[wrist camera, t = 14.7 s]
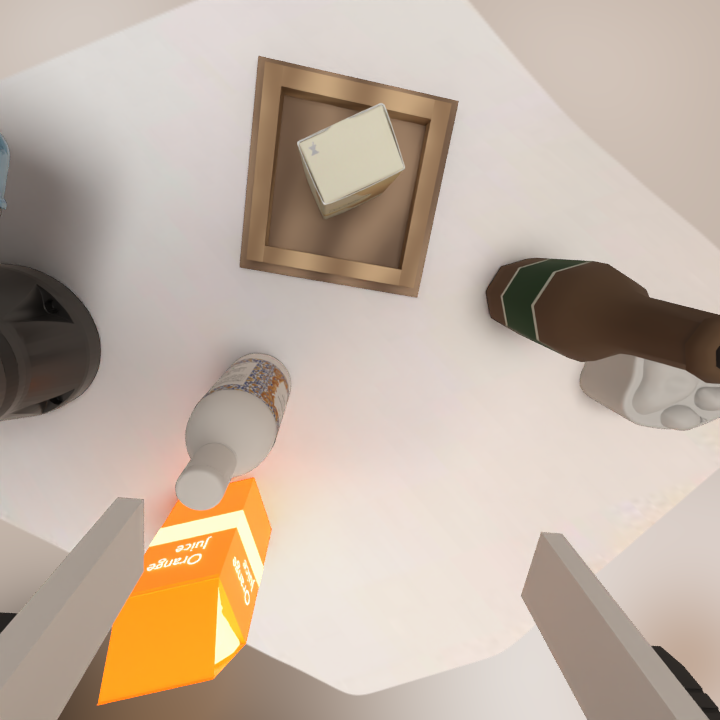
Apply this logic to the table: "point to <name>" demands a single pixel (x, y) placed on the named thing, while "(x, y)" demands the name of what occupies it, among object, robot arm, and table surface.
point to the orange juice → (190, 597)
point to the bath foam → (233, 428)
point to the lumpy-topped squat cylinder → (651, 392)
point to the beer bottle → (602, 316)
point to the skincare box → (351, 160)
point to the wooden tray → (360, 224)
